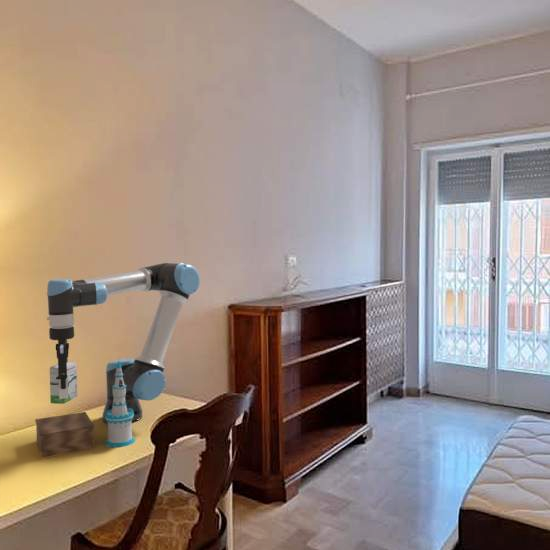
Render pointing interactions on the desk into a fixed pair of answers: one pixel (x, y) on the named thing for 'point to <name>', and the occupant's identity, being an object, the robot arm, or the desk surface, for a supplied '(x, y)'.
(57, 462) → the desk surface
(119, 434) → the model tower
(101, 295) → the robot arm
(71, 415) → the walnut block
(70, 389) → the ink box
